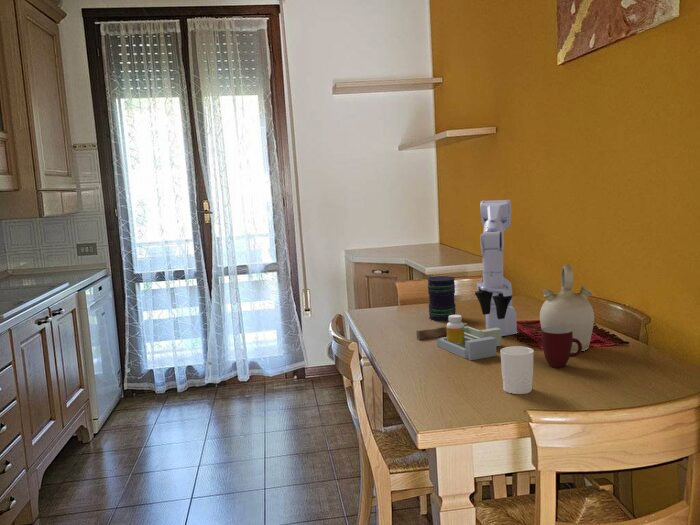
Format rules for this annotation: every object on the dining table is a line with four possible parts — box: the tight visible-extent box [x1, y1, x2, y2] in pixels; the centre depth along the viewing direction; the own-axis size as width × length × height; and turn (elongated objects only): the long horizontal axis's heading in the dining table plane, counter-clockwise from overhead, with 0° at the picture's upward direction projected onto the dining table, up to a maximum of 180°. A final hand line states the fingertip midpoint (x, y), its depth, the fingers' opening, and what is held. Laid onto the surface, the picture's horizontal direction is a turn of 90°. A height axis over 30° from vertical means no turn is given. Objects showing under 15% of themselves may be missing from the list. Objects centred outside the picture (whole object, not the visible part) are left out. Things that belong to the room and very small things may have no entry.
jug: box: [539, 264, 595, 354], centre depth 194 cm, size 15×16×25 cm
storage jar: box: [427, 275, 457, 322], centre depth 241 cm, size 10×10×15 cm
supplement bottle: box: [446, 314, 465, 348], centre depth 203 cm, size 5×5×10 cm
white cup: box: [499, 345, 535, 395], centre depth 161 cm, size 8×8×10 cm
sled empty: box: [464, 326, 502, 348], centre depth 209 cm, size 6×19×5 cm, turn 23°
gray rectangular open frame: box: [436, 336, 497, 361], centre depth 198 cm, size 9×19×5 cm, turn 23°
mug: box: [540, 327, 582, 369], centre depth 178 cm, size 11×8×10 cm
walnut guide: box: [416, 322, 473, 341], centre depth 208 cm, size 19×22×3 cm
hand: (493, 316), depth 198 cm, fingers open, 7 cm apart
